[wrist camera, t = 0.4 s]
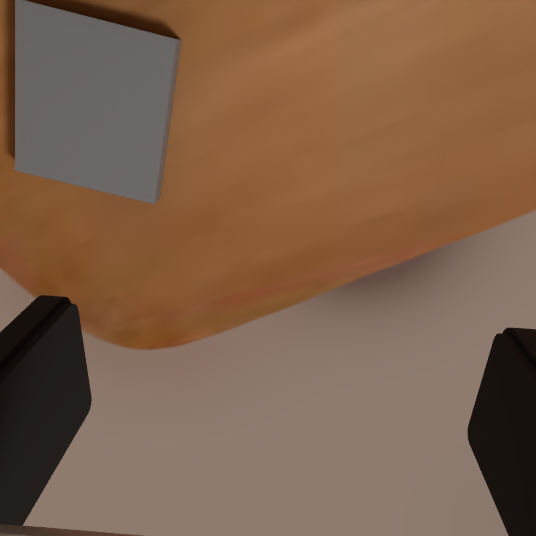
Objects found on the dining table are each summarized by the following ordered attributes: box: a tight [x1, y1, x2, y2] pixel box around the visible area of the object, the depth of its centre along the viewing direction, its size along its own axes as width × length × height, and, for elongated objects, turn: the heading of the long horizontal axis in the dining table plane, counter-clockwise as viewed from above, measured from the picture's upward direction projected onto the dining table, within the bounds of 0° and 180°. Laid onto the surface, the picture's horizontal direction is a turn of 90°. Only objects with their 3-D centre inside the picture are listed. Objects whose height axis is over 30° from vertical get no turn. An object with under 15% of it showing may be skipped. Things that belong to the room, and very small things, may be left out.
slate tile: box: [15, 0, 181, 204], centre depth 38 cm, size 13×12×2 cm
